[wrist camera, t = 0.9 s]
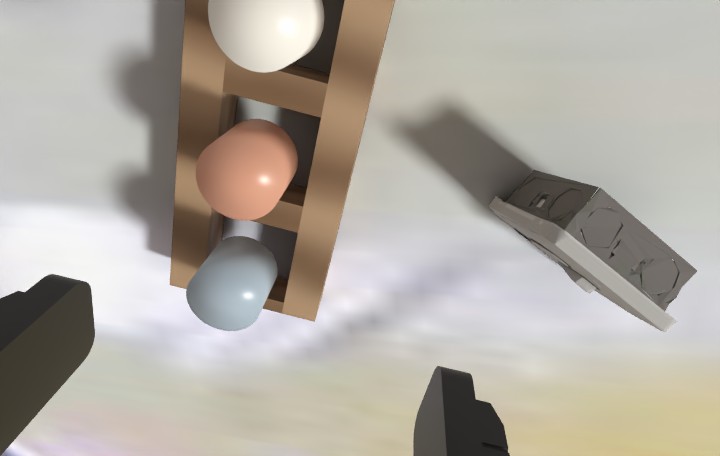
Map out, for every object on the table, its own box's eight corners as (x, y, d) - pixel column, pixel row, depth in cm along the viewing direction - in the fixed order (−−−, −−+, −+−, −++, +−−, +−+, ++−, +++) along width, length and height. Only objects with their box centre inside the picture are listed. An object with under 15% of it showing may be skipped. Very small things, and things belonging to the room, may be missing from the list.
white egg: (249, -45, 24) (212, -54, 19) (335, -22, 24) (318, -25, 20) (239, 47, 26) (204, 58, 22) (318, 68, 26) (299, 83, 22)
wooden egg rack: (213, -91, 26) (190, -101, 23) (404, -39, 26) (403, -42, 23) (187, 263, 37) (169, 284, 34) (321, 297, 37) (314, 321, 34)
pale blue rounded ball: (220, 222, 31) (188, 259, 27) (286, 239, 31) (265, 279, 27) (214, 277, 33) (184, 320, 29) (276, 292, 33) (255, 338, 29)
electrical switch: (483, 202, 32) (521, 262, 24) (537, 143, 30) (600, 186, 22) (577, 276, 34) (644, 357, 25) (633, 225, 32) (725, 293, 24)
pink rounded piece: (232, 106, 28) (198, 127, 23) (307, 126, 28) (288, 151, 23) (225, 176, 30) (192, 208, 25) (294, 194, 30) (274, 229, 25)
